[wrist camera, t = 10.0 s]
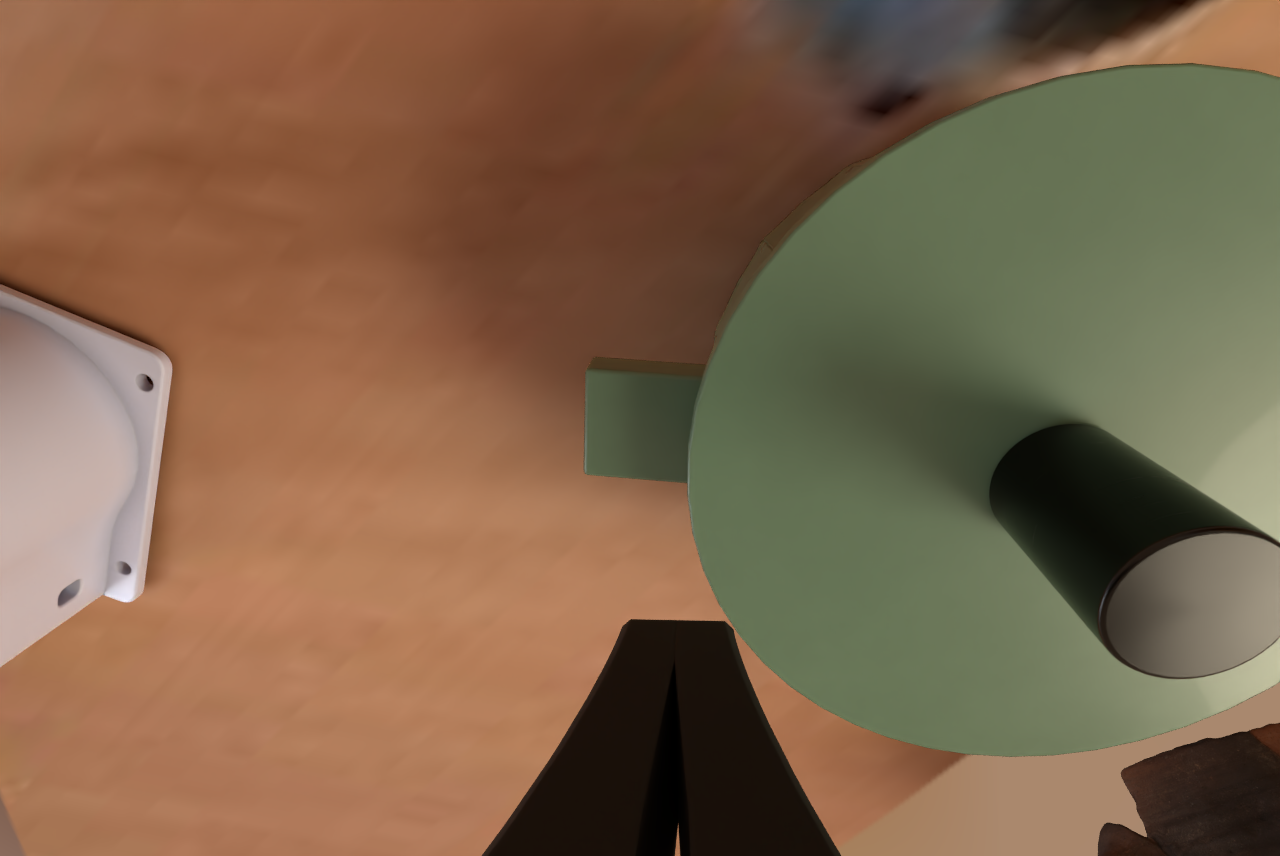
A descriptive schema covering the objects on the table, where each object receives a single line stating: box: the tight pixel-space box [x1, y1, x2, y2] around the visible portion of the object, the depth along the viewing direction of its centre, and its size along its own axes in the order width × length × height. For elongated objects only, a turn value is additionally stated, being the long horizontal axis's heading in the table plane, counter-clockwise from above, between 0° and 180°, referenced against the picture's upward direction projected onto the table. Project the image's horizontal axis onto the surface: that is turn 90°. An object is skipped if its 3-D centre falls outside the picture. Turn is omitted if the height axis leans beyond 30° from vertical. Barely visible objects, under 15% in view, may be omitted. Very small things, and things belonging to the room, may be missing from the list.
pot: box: [584, 156, 874, 483], centre depth 15 cm, size 12×18×5 cm
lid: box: [687, 63, 1280, 757], centre depth 10 cm, size 13×13×5 cm
